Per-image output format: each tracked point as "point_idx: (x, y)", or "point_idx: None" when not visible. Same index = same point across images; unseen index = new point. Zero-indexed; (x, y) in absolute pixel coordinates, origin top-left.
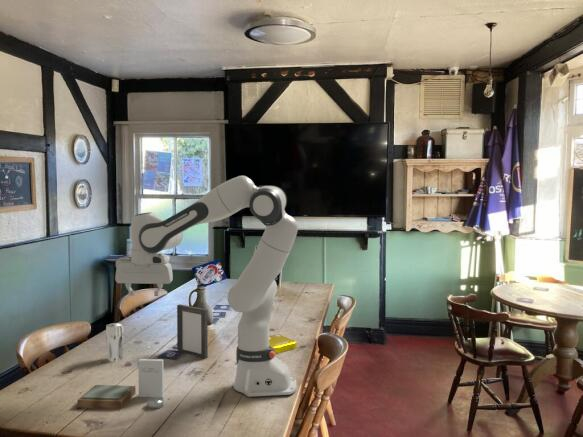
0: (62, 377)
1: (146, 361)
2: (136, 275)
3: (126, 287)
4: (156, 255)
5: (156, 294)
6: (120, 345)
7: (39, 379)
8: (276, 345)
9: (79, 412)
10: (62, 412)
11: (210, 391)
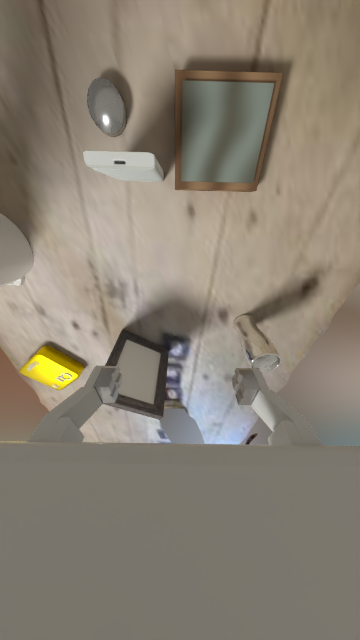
0: (316, 261)
1: (130, 153)
2: (254, 573)
3: (294, 411)
4: None
5: (102, 370)
6: (243, 335)
7: (354, 251)
8: (35, 360)
9: (265, 45)
10: (306, 42)
11: (47, 209)
